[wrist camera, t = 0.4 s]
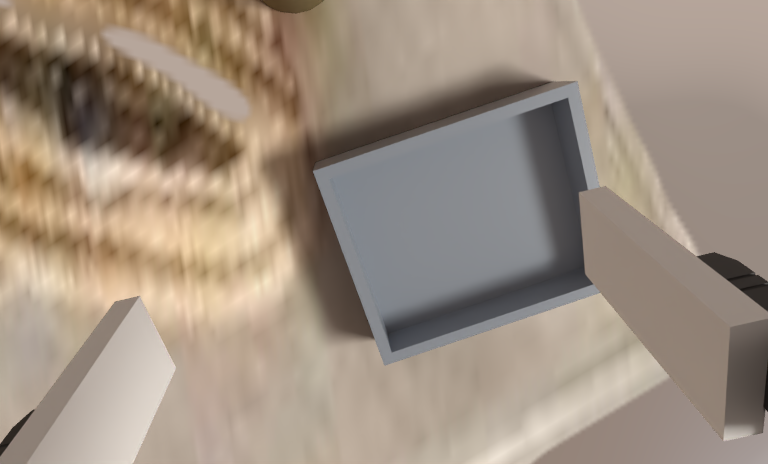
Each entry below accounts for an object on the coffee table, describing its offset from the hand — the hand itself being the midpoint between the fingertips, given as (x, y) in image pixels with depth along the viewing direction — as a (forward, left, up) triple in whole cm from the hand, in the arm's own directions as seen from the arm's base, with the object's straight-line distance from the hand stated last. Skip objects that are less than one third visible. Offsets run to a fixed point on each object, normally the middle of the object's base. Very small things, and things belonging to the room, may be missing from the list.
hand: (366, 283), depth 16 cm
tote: (+6, +7, -23) cm, 25 cm away
